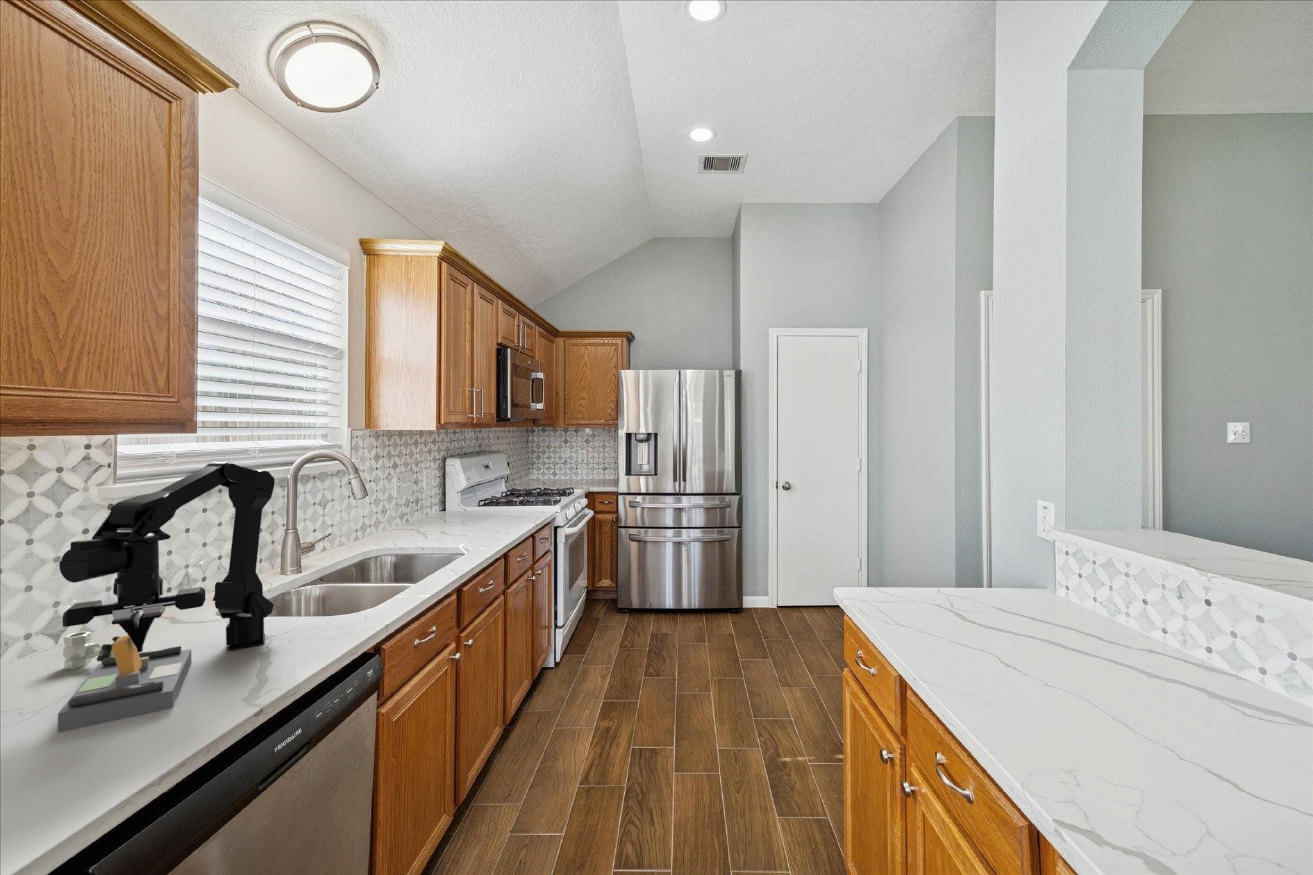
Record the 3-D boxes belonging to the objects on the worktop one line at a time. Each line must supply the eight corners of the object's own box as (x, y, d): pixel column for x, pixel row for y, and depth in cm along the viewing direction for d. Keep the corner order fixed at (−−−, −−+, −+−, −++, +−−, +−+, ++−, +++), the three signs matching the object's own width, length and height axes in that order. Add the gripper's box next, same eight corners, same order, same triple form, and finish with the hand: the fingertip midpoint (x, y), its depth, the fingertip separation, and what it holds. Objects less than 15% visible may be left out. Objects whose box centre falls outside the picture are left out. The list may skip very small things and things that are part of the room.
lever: (142, 664, 104) (133, 633, 103) (135, 674, 100) (126, 641, 99) (127, 669, 103) (118, 637, 102) (121, 679, 99) (111, 646, 98)
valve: (49, 672, 110) (101, 676, 109) (49, 639, 110) (100, 643, 109) (87, 658, 117) (136, 662, 115) (87, 628, 117) (136, 630, 115)
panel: (191, 663, 114) (191, 639, 114) (172, 707, 96) (172, 679, 96) (98, 679, 107) (97, 654, 107) (58, 731, 88) (57, 701, 88)
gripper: (207, 553, 114) (209, 628, 114) (80, 567, 103) (81, 649, 103) (201, 563, 104) (202, 644, 105) (60, 579, 94) (62, 670, 94)
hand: (140, 651), depth 102 cm, fingers closed
